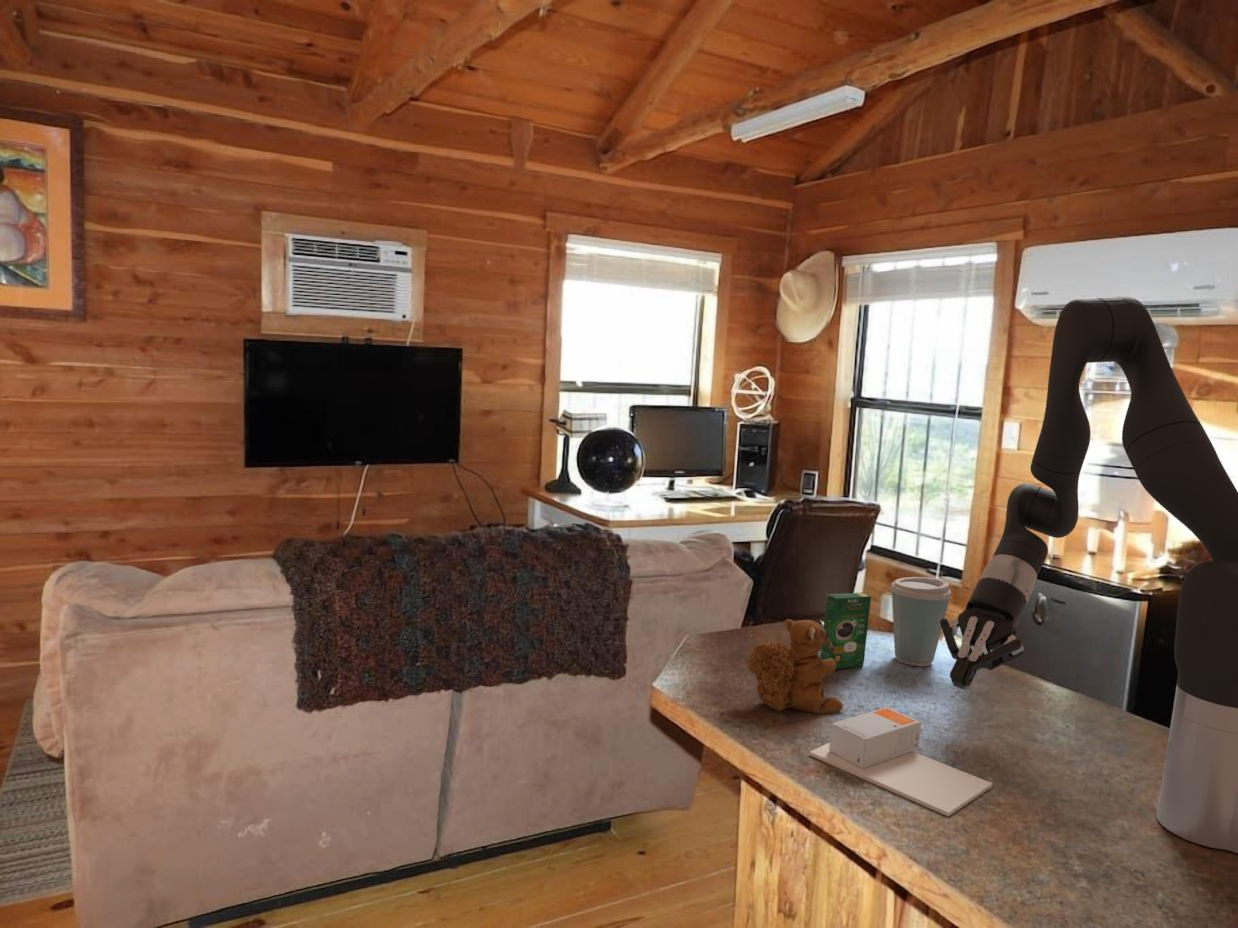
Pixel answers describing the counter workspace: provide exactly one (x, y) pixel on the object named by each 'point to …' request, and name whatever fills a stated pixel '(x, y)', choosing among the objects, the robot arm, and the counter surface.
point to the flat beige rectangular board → (915, 779)
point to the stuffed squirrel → (795, 670)
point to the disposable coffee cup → (918, 617)
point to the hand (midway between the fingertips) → (957, 684)
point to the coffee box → (846, 628)
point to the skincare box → (874, 737)
